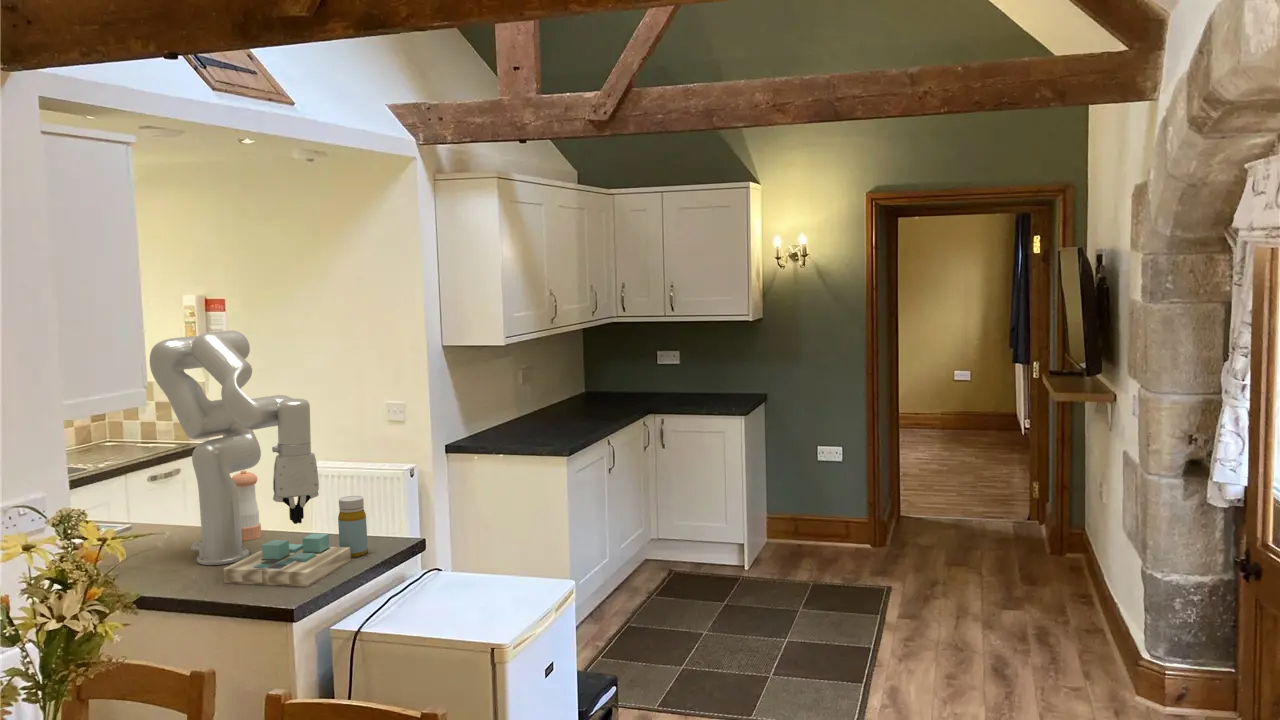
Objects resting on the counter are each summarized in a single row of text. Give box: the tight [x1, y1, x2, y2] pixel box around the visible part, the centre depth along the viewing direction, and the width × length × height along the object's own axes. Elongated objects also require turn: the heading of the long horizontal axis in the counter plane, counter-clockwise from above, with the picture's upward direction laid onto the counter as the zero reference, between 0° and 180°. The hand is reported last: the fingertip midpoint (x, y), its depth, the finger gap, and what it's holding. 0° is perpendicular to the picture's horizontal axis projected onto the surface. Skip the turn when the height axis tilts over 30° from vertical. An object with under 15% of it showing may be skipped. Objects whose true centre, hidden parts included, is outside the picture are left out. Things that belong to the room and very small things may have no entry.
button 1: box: [261, 539, 290, 560], centre depth 249 cm, size 5×5×4 cm
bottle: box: [337, 495, 369, 559], centre depth 261 cm, size 7×7×15 cm
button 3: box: [288, 552, 315, 562], centre depth 247 cm, size 5×5×4 cm
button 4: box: [302, 533, 330, 552], centre depth 254 cm, size 5×5×4 cm
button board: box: [223, 546, 352, 588], centre depth 248 cm, size 22×21×4 cm
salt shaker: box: [231, 469, 262, 542], centre depth 281 cm, size 7×7×19 cm
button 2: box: [289, 543, 303, 553], centre depth 256 cm, size 5×5×4 cm
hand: (296, 522), depth 247 cm, fingers closed
